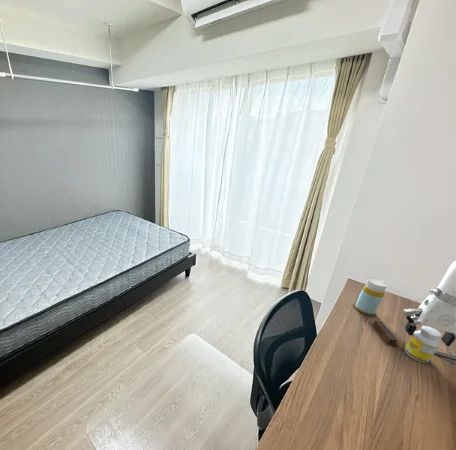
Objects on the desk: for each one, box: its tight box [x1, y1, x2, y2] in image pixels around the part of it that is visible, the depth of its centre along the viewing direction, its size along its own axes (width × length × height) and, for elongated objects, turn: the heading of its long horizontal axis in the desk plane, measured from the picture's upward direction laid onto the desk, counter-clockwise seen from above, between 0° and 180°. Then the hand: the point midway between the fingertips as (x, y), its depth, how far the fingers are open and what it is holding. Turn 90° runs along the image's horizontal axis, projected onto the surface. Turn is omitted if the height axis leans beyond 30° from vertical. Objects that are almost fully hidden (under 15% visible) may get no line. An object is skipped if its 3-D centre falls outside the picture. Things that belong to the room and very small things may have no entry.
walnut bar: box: [372, 319, 399, 346], centre depth 95 cm, size 10×2×2 cm, turn 166°
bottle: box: [354, 277, 388, 316], centre depth 105 cm, size 7×7×15 cm
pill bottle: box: [404, 325, 442, 364], centre depth 85 cm, size 6×6×12 cm
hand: (426, 337), depth 84 cm, fingers open, 9 cm apart
